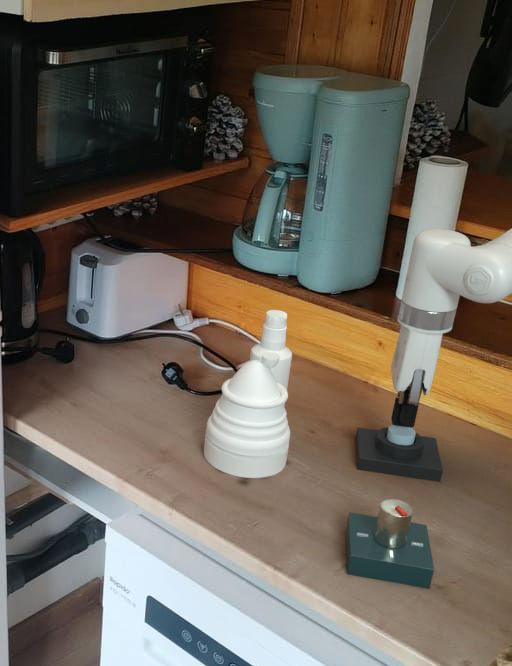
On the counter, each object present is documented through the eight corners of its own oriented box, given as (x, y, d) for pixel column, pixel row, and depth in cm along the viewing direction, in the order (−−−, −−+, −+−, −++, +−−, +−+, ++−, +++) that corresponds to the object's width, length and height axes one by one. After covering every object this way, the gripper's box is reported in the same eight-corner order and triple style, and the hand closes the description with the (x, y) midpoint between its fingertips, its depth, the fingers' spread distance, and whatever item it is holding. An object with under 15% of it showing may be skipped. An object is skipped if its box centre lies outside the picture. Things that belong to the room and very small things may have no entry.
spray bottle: (257, 396, 162) (270, 302, 154) (291, 409, 158) (305, 313, 150) (236, 408, 158) (247, 313, 150) (270, 422, 153) (283, 324, 145)
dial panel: (422, 542, 123) (426, 523, 122) (429, 588, 115) (434, 568, 113) (345, 530, 126) (349, 511, 124) (347, 574, 117) (351, 554, 116)
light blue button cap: (412, 435, 142) (414, 426, 142) (414, 448, 139) (416, 438, 138) (385, 432, 143) (387, 422, 143) (387, 444, 140) (389, 434, 139)
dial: (367, 532, 120) (374, 498, 118) (394, 528, 121) (402, 495, 119) (384, 550, 117) (391, 516, 114) (412, 546, 117) (420, 512, 115)
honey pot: (295, 448, 146) (311, 346, 138) (274, 486, 136) (290, 379, 128) (217, 428, 151) (229, 330, 143) (192, 464, 141) (203, 360, 133)
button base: (433, 449, 146) (438, 428, 144) (439, 482, 137) (445, 459, 135) (355, 438, 149) (359, 417, 147) (356, 469, 140) (361, 447, 138)
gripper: (395, 294, 139) (374, 399, 148) (402, 331, 127) (379, 443, 135) (448, 299, 138) (423, 405, 146) (460, 337, 125) (432, 451, 133)
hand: (402, 423), depth 140 cm, fingers closed
